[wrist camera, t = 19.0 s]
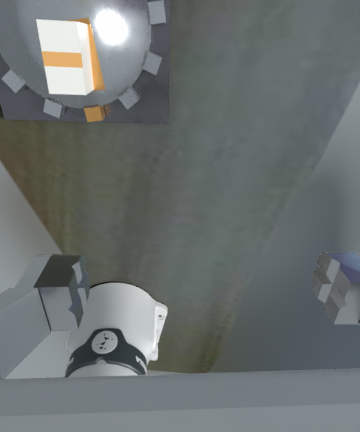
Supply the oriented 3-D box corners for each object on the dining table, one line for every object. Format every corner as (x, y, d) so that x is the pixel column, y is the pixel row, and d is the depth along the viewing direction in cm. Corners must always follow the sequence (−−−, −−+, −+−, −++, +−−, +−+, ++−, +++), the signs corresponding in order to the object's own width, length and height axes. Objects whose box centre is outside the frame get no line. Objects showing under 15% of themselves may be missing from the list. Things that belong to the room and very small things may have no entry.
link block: (94, 89, 32) (85, 95, 28) (61, 88, 31) (49, 93, 28) (87, 24, 28) (77, 21, 25) (51, 22, 28) (35, 19, 25)
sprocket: (194, -35, 28) (205, -60, 21) (132, 141, 37) (125, 164, 30) (-14, -159, 23) (-87, -242, 17) (-30, 76, 32) (-82, 85, 25)
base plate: (168, 121, 37) (168, 123, 36) (8, 117, 36) (4, 119, 35) (171, -98, 27) (172, -102, 26) (-53, -115, 25) (-61, -121, 25)
